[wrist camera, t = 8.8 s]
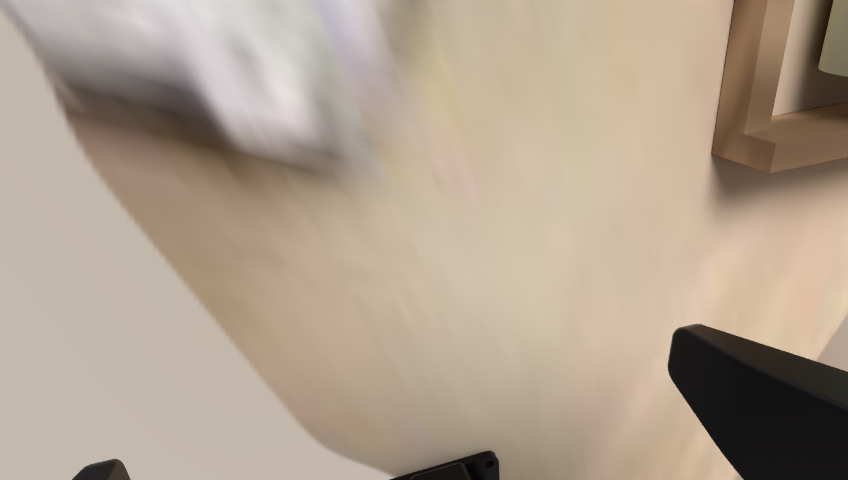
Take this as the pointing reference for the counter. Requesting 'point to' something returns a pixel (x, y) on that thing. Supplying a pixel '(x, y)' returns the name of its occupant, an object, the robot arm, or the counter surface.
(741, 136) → the holder
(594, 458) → the counter surface
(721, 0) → the counter surface
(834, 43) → the roll
